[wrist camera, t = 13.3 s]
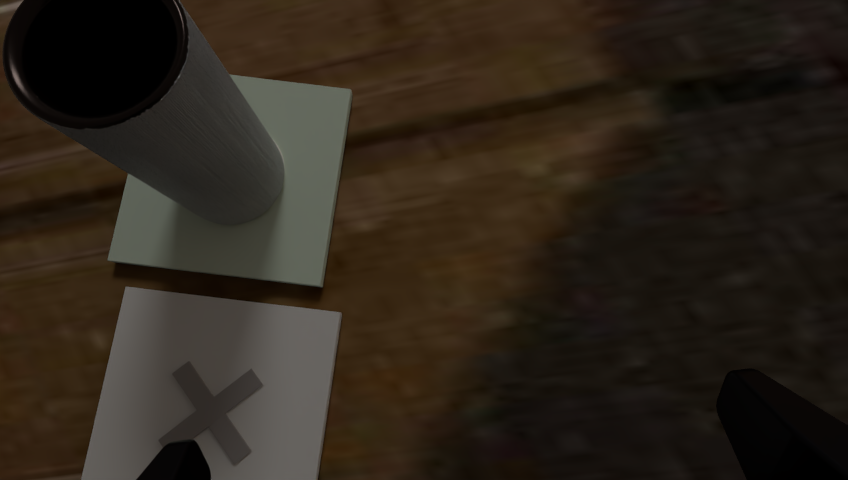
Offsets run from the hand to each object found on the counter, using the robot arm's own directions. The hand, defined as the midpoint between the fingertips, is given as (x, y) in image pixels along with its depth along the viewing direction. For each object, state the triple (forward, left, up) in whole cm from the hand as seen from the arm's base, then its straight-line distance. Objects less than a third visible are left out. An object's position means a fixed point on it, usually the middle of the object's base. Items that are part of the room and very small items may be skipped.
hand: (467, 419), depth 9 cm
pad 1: (+8, +10, -14) cm, 18 cm away
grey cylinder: (+7, +10, -13) cm, 18 cm away
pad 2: (-2, +9, -14) cm, 16 cm away
